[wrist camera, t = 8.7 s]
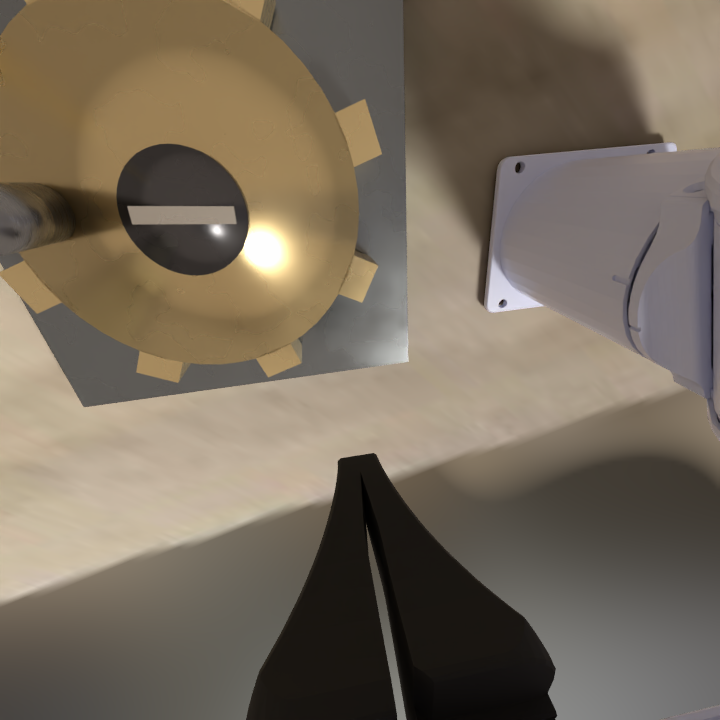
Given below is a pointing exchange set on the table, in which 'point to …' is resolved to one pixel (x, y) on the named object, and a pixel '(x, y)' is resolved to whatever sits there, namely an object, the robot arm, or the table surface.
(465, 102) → the table surface
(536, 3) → the table surface
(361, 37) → the cap plate
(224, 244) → the blocky toothed spur gear
